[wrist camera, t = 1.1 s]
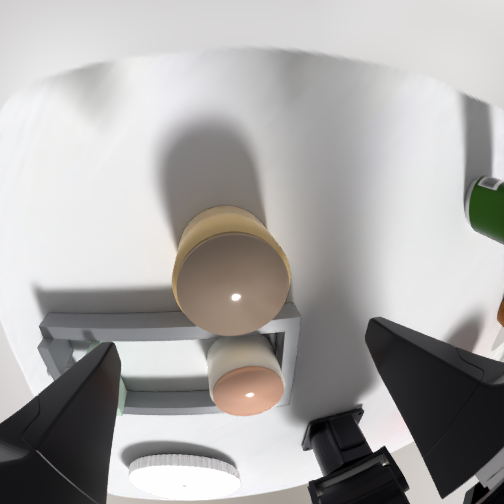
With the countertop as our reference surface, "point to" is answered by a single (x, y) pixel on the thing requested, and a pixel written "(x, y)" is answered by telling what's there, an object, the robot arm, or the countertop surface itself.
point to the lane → (160, 329)
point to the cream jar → (244, 375)
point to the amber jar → (229, 272)
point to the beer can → (486, 207)
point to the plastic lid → (184, 476)
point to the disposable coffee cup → (501, 314)
